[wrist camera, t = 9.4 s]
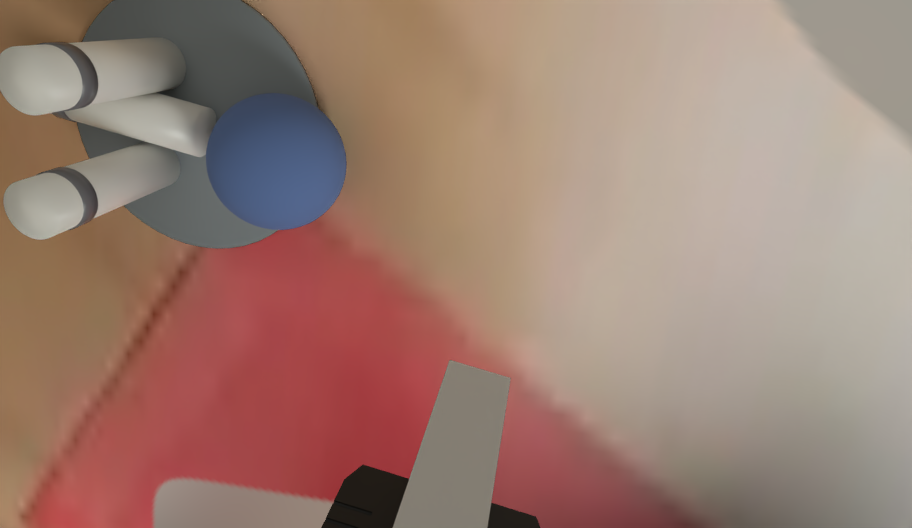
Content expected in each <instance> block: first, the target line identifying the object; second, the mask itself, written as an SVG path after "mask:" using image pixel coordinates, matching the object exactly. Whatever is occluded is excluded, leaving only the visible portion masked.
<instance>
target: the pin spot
mask: <svg viewBox="0 0 912 528" xmlns="http://www.w3.org/2000/svg"><path fill="white" fill-rule="evenodd" d="M156 37H160V38H165V39H167V40H169V41H171V42H173V43H174V44H175V45H176V46H177V47H178V48H179V49H180V51H181V53H182V54H183V56H184V59H185V63H186V74H185V78H184V80H183V82H182V83H181V84H180V85H179V86H178V87H176V88H174V89H170V90H165V91H160V92H156V93H160V94H163V95H167V96H170V97H174V98H177V99H180V100H184V101H187V102H191V103H194V104H198V105H201V106H205V107H208V108H211V109H213V110H214V112H215V114H216V123H217V121H218V120H219V119H220V117H221V116H222V115H223V114H224V113H225V112H226V111H227V110H228V109H229V108H230V107H232V106H233V105H235V104H236V103H238V102H240V101H242V100H244V99H246V98H249V97H252V96H255V95H260V94H265V93H280V94H287V95H292V96H295V97H298V98H301V99H303V100H305V101H307V102H309V103H311V104H312V105H314V106H315V107H317V108H318V105H317V102H316V98H315V95H314V91H313V88H312V86H311V83H310V81H309V79H308V76H307V74H306V71H305V69H304V68H303V66H302V64H301V62H300V61H299V59H298V57H297V55H296V53H295V52H294V51H293V49H292V48H291V47H290V45H289V44H288V42H287V41H286V40H285V38H284V37H283V36H282V35H281V34H280V33H279V32H278V30H277V29H276V28H275V27H274V26H273V25H272V24H271V23H270V22H269V21H268V20H267V19H265V18H264V17H263V16H262V15H261V14H260V13H259V12H257V11H256V10H255V9H253V8H252V7H250V6H249V5H247V4H246V3H244V2H243V1H241V0H114V1H112V2H111V3H110V4H108V5H107V6H106V7H105V8H104V9H103V10H102V12H101V13H100V14H99V15H98V16H97V17H96V19H95V20H94V21H93V23H92V24H91V26H90V27H89V29H88V31H87V33H86V35H85V37H84V39H83V41H82V42H91V41H107V40H123V39H140V38H156ZM216 123H215V124H216ZM77 125H78V129H79V132H80V135H81V139H82V142H83V144H84V147H85V149H86V151H87V154H88V156H89V158H90V159H91V158H94V157H97V156H101V155H104V154H107V153H110V152H114V151H117V150H120V149H123V148H126V147H130V146H133V145H136V144H139V143H143V142H145V141H142V140H138V139H135V138H131V137H128V136H125V135H121V134H118V133H114V132H111V131H107V130H104V129H101V128H97V127H94V126H90V125H87V124H84V123H80V122H77ZM173 151H174V152H175V153H176V155H177V157H178V159H179V163H180V174H179V177H178V179H177V180H176V181H175V182H174V183H173V184H171V185H169V186H167V187H165V188H162V189H160V190H158V191H155V192H153V193H151V194H149V195H146V196H144V197H142V198H139V199H137V200H135V201H133V202H130V203H128V204H126V205H124V206H125V207H126V208H127V209H128V210H129V211H130V212H131V213H132V214H133V215H135V216H136V217H137V218H139V219H140V220H141V221H142V222H144V223H145V224H147V225H148V226H150V227H151V228H153V229H155V230H156V231H158V232H160V233H162V234H164V235H166V236H168V237H170V238H172V239H175V240H178V241H181V242H183V243H186V244H190V245H195V246H199V247H206V248H234V247H240V246H245V245H248V244H251V243H255V242H258V241H260V240H262V239H264V238H266V237H268V236H270V235H272V234H273V233H275V232H276V231H277V230H272V229H265V228H261V227H258V226H254V225H252V224H250V223H247V222H245V221H244V220H242V219H240V218H238V217H237V216H236V215H234V214H233V213H232V212H231V211H229V210H228V209H227V208H226V207H225V206H224V205H223V203H222V202H221V201H220V199H219V198H218V197H217V195H216V193H215V191H214V190H213V188H212V185H211V183H210V180H209V177H208V173H207V167H206V155H204V156H203V157H196V156H193V155H189V154H186V153H183V152H179V151H176V150H173Z"/></svg>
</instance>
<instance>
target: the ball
mask: <svg viewBox="0 0 912 528" xmlns="http://www.w3.org/2000/svg"><path fill="white" fill-rule="evenodd" d="M206 167H207V173H208V177H209V180H210V183H211V185H212V188H213V190H214V191H215V193H216V195H217V197H218V198H219V199H220V201H221V202H222V203H223V205H224V206H225V207H226V208H227V209H228V210H229V211H231V212H232V213H233V214H234V215H236V216H237V217H238V218H240V219H242V220H244V221H245V222H247V223H250V224H252V225H254V226H258V227H261V228H265V229H272V230H286V229H293V228H297V227H301V226H303V225H306V224H309V223H310V222H312V221H314V220H316V219H317V218H319V217H320V216H322V215H323V214H324V213H325V212H326V211H327V210H328V209H329V208H330V207H331V206H332V204H333V203H334V202H335V200H336V199H337V197H338V196H339V194H340V191H341V189H342V187H343V183H344V180H345V175H346V153H345V149H344V145H343V142H342V139H341V137H340V135H339V133H338V131H337V129H336V128H335V126H334V125H333V123H332V122H331V120H330V119H329V118H328V117H327V116H326V115H325V114H324V113H323V112H322V111H321V110H319V109H318V108H317V107H315V106H314V105H312V104H311V103H309V102H307V101H305V100H303V99H301V98H298V97H295V96H292V95H287V94H280V93H265V94H260V95H255V96H252V97H249V98H246V99H244V100H242V101H240V102H238V103H236V104H235V105H233V106H232V107H230V108H229V109H228V110H227V111H226V112H225V113H224V114H223V115H222V116H221V117H220V119H219V120H218V121H217V123H216V124H215V126H214V128H213V130H212V132H211V134H210V137H209V140H208V144H207V149H206Z"/></svg>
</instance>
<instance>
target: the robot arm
mask: <svg viewBox="0 0 912 528" xmlns="http://www.w3.org/2000/svg"><path fill="white" fill-rule="evenodd" d="M510 379H511V378H509V377H505V376H502V375H499V374H495V373H492V372H489V371H485V370H482V369H479V368H475V367H472V366H469V365H465V364H462V363H459V362H455V361H452V360H449V363H448V366H447V369H446V372H445V375H444V378H443V381H442V384H441V387H440V390H439V393H438V396H437V399H436V402H435V405H434V408H433V411H432V413H431V416H430V419H429V422H428V425H427V428H426V431H425V434H424V437H423V440H422V443H421V446H420V449H419V452H418V455H417V458H416V461H415V464H414V466H413V469H412V472H411V475H410V478H409V479H408V478H404V477H401V476H398V475H395V474H391V473H388V472H385V471H382V470H379V469H375V468H372V467H369V466H366V465H362V466H361V467H359V468H358V469H357V470H356V471H354V472H353V473H352V474H351V475H349V476H348V477H347V478H346V479H344V481H343V483H342V486H341V488H340V490H339V492H338V494H337V496H336V498H335V500H334V503H333V504H332V507H331V509H330V511H329V513H328V515H327V517H326V520H325V522H324V524H323V525H322V528H540V525H539V523H538V520H537V518H536V517H535V516H532V515H529V514H526V513H522V512H519V511H516V510H513V509H509V508H506V507H503V506H500V505H497V504H493V503H491V501H492V494H493V488H494V482H495V475H496V469H497V462H498V456H499V450H500V443H501V437H502V430H503V424H504V418H505V411H506V405H507V398H508V392H509V386H510Z"/></svg>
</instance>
